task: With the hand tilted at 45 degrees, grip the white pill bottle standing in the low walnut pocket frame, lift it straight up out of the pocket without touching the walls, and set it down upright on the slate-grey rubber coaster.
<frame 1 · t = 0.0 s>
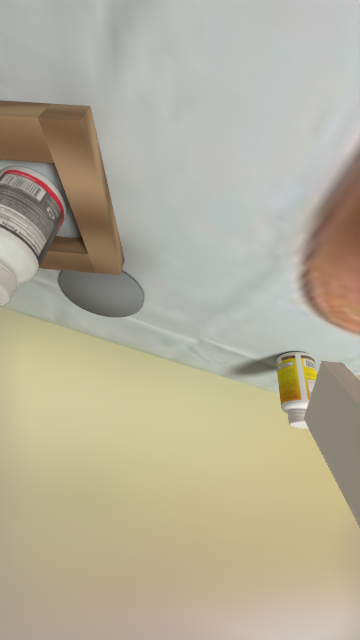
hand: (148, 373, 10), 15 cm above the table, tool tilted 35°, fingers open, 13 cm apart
coaster: (103, 291, 32), on the table
pocket: (34, 197, 22), on the table
supplement bottle: (294, 356, 42), on the table
pill bottle: (35, 195, 22), resting in pocket
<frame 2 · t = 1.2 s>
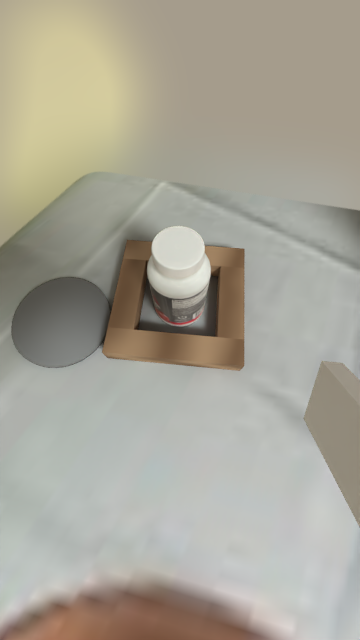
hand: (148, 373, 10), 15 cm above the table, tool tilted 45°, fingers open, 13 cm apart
coaster: (63, 320, 27), on the table
pocket: (179, 304, 28), on the table
pill bottle: (179, 305, 28), resting in pocket
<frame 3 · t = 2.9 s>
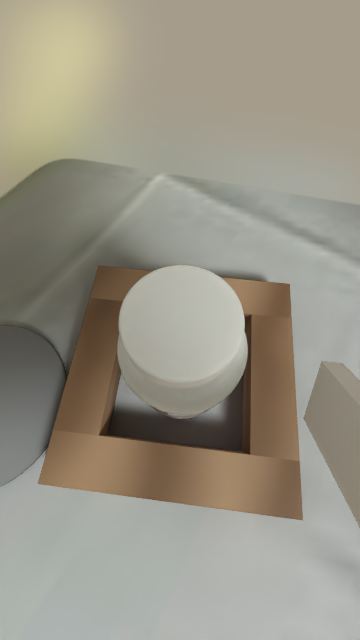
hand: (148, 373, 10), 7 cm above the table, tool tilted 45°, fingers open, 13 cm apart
pocket: (181, 375, 17), on the table
pill bottle: (181, 376, 17), resting in pocket
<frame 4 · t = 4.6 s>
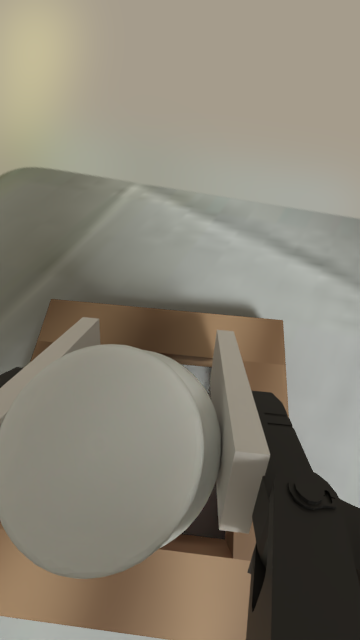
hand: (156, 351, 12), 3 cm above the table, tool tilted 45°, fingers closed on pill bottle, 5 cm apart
pocket: (151, 435, 14), on the table
pill bottle: (152, 435, 14), resting in pocket, touching gripper
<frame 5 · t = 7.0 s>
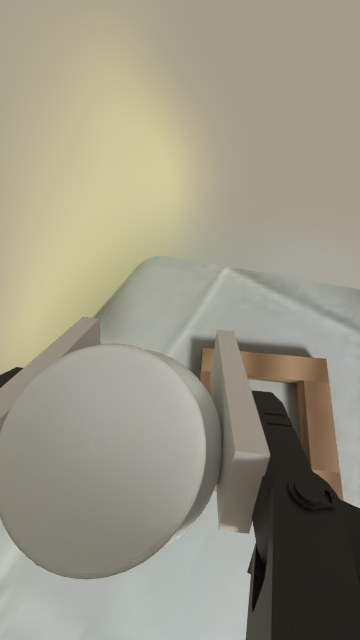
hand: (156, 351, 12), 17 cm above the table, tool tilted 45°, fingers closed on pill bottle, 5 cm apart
pocket: (259, 418, 27), on the table
pill bottle: (152, 435, 14), point 14 cm above the table, touching gripper
when the fingers open (5 cm above the table, at t = 9.6 s): pill bottle drops 1 cm, resting on coaster.
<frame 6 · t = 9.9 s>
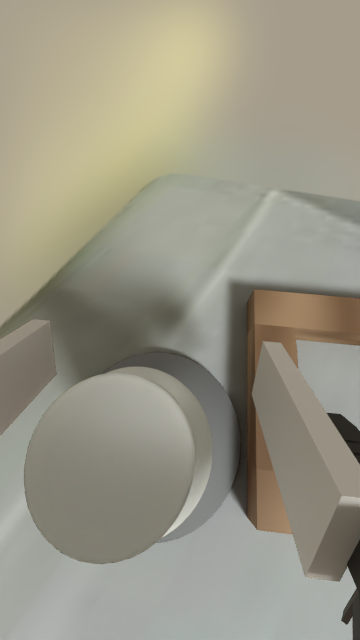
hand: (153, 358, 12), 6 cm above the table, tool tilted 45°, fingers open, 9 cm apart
coaster: (154, 435, 16), on the table
pocket: (351, 404, 16), on the table
pill bottle: (153, 436, 15), resting on coaster
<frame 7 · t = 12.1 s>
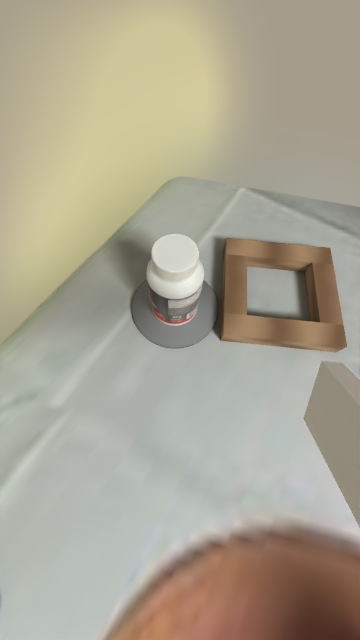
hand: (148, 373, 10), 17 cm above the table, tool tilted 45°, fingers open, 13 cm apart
coaster: (175, 307, 31), on the table
pocket: (275, 295, 32), on the table
pill bottle: (174, 306, 31), resting on coaster
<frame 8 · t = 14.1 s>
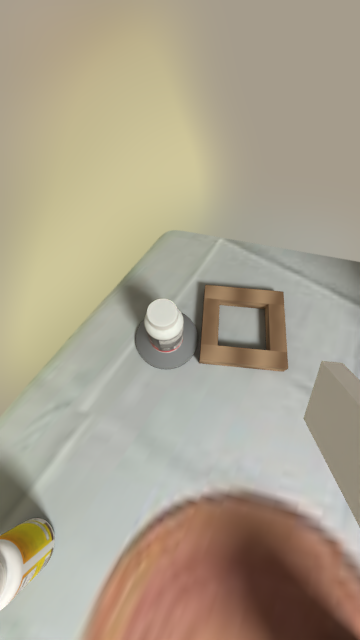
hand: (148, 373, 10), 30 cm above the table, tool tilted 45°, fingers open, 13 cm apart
coaster: (166, 338, 42), on the table
pocket: (241, 328, 43), on the table
supplement bottle: (34, 543, 32), on the table
pill bottle: (166, 338, 42), resting on coaster
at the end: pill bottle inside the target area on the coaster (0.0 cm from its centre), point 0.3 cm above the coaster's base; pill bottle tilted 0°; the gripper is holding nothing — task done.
